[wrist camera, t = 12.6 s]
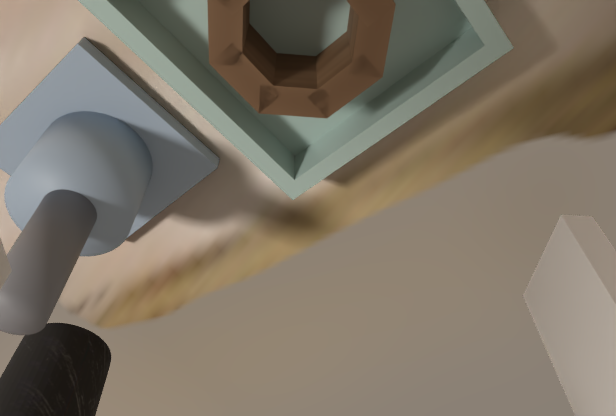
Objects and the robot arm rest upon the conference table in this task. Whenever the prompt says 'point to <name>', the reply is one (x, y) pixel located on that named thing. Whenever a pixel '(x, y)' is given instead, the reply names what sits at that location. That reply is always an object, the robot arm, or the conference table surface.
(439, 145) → the conference table surface
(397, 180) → the conference table surface
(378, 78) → the ring
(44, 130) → the stake stand
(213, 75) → the tray
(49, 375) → the travel mug
